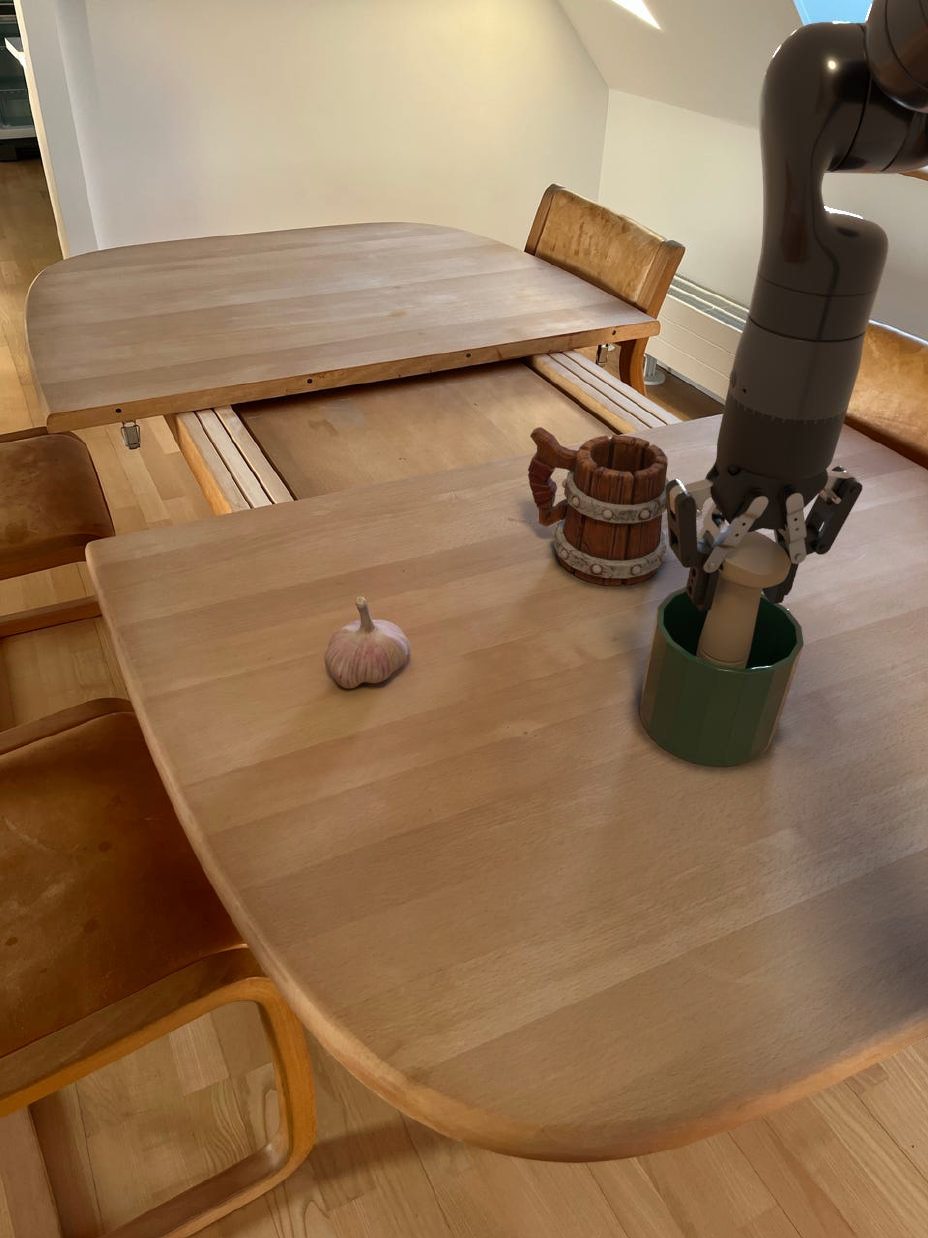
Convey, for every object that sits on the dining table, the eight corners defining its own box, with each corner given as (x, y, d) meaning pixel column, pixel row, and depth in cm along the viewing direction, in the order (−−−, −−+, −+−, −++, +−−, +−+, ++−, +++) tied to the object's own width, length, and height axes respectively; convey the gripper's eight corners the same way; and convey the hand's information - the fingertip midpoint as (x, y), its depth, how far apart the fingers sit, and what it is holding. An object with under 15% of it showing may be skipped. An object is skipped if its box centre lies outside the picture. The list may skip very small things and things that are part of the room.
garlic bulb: (330, 703, 79) (323, 629, 74) (321, 648, 84) (314, 576, 79) (418, 691, 80) (418, 618, 75) (403, 638, 86) (402, 566, 81)
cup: (797, 757, 75) (829, 663, 69) (667, 775, 73) (689, 680, 67) (739, 668, 83) (763, 577, 77) (621, 682, 82) (637, 590, 75)
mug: (663, 601, 90) (659, 460, 82) (522, 590, 96) (505, 456, 87) (683, 539, 99) (682, 406, 91) (554, 532, 104) (541, 405, 96)
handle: (709, 669, 80) (745, 520, 71) (759, 717, 76) (804, 564, 66) (663, 685, 78) (694, 534, 69) (711, 735, 74) (751, 580, 65)
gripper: (707, 423, 56) (664, 642, 66) (922, 407, 58) (848, 621, 69) (662, 372, 62) (629, 581, 72) (860, 360, 64) (800, 564, 75)
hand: (736, 600), depth 70 cm, fingers closed on handle, 5 cm apart
